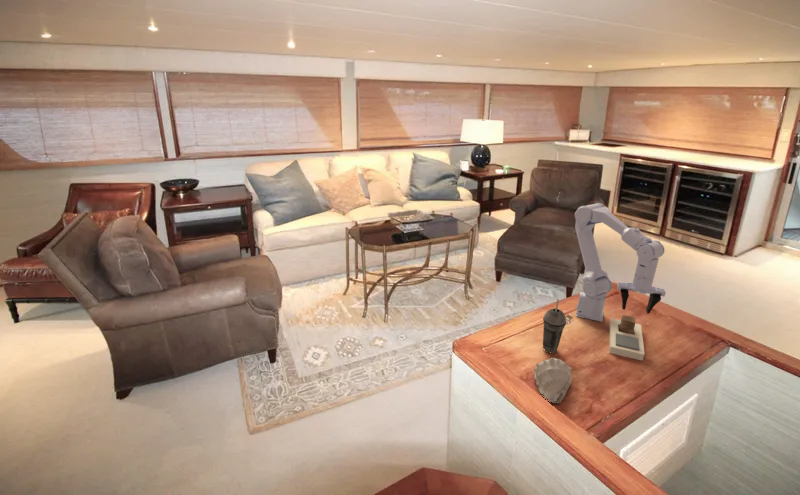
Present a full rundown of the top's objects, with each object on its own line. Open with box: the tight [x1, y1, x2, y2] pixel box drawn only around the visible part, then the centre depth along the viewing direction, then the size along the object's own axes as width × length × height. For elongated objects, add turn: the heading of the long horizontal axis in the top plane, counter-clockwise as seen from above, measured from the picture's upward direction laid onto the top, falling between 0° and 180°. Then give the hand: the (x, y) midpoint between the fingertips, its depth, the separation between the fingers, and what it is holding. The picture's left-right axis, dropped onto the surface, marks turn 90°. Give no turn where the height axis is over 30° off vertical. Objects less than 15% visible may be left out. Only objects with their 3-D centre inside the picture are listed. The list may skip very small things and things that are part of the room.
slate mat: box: [616, 333, 639, 351], centre depth 142 cm, size 7×7×1 cm
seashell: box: [533, 357, 573, 404], centre depth 123 cm, size 12×14×10 cm
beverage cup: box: [542, 298, 567, 354], centre depth 139 cm, size 7×7×20 cm
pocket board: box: [608, 318, 645, 361], centre depth 147 cm, size 10×20×2 cm, turn 155°
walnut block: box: [618, 314, 636, 334], centre depth 150 cm, size 4×4×7 cm
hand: (635, 310), depth 147 cm, fingers open, 7 cm apart
